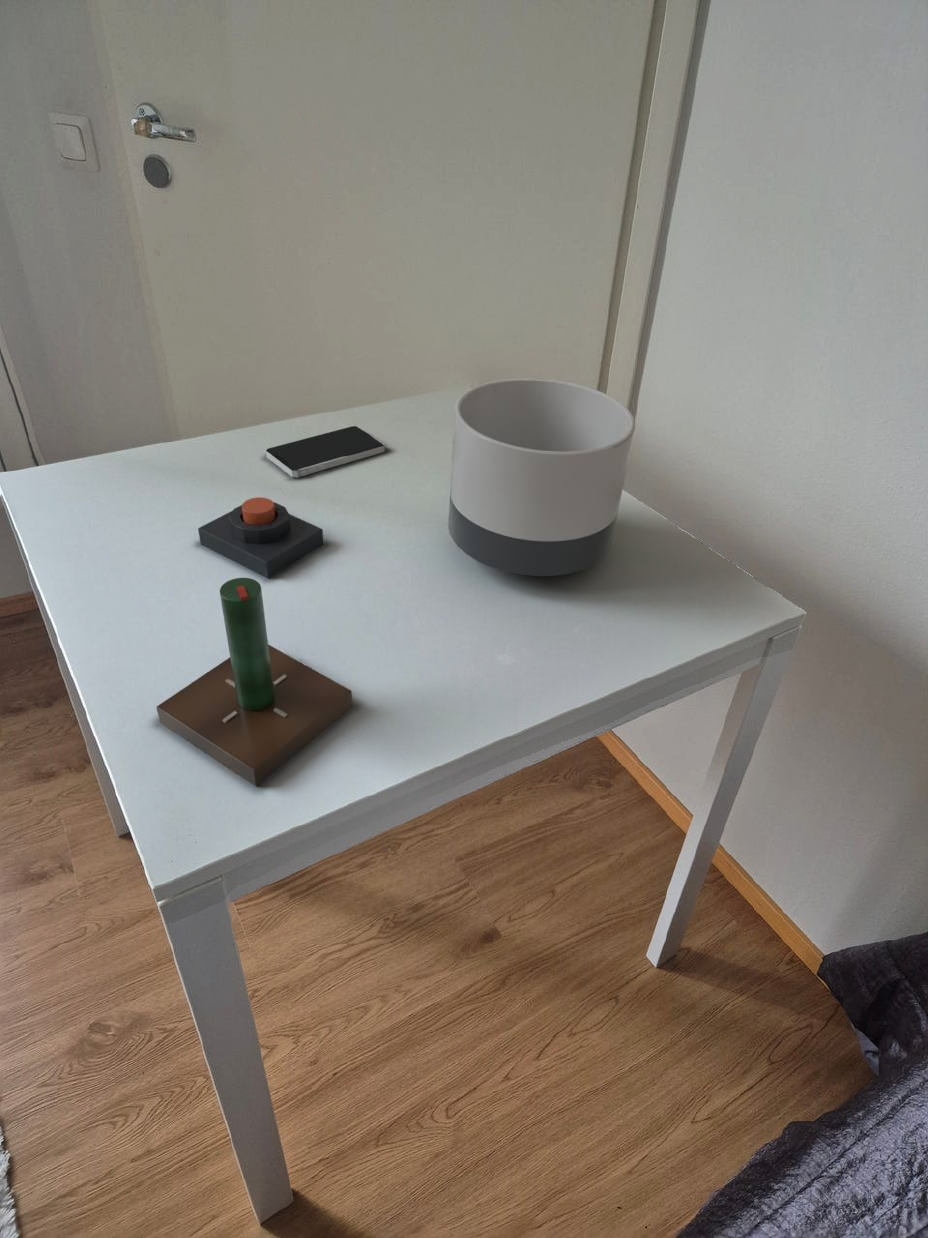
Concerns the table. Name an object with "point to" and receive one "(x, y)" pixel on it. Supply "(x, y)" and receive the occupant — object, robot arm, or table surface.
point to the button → (258, 511)
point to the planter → (537, 474)
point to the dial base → (255, 716)
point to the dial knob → (247, 642)
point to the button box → (262, 540)
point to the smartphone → (324, 451)
